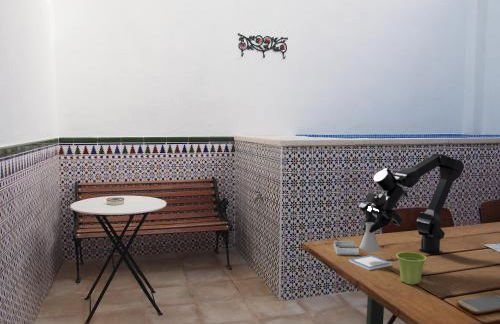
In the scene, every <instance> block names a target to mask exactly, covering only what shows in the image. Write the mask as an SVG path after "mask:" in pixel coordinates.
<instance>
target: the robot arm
mask: <svg viewBox="0 0 500 324" xmlns="http://www.w3.org/2000/svg"><path fill="white" fill-rule="evenodd" d="M436 168H439V170H438V172H439V176H440V177H439V179H438V182H437V185H436V188H435V190H434V192H433V195H432V198H431V200H430V202H429V205H428V207H427V209H426V210H425V211H424V212H423V211H421V212H419V214H418V217H417V219H416V220H415V221H416V224H415V226H416V228H417V232H418V235H419V236H421V240H420V241H421V242H420V244H421V245H420V248H419V249H418V251H420V252H422V253H426V254H429V255H436V254H441V253H443V250H441V249H440V248H441V246H440V245H441V240H442V239H444V238H445V234H446V233H445V232H444V230H443V229H442V228H441V225H442V221H441V220H442V219H441V212H442V210H443V208H444V205H445V203H446V200H447V199H448V195H449V193H450V191H451V188H452V186H453V183H454V182H455V181H457V180H458V179H459V178H460V176H461V175H462V173H463V171H464V170H465V169H464V168H465V165H464V162H463V161H462V159H456V158H452V157H449V156H447V155H445V154H443V153H433V154H431V155H430V156H429V157H427V158H425V159H424V160H422V161H420V162H419V163H417V164H416V165H414V166H412V167H408V168H403V169H401V170H399V171H396V172H395V173H394V174H393V173H392V172H391V169H389V168H388V167H387V168H386V167H384V168H383V169H382V170H379V171H378V172H376V173H375V174H374V175H373V181H374V182H375V183H376V184H377V186H379V188H380V189H381V190H382V191H383V192H385V193H383V194H382V193H379V194H375V193H371V192H368V193H367V195H366V197H365V202H360V204H359V205H358V207H357V208H359V210H361V212H362V213H363V214H364V215H365V216H366V217H365V221H364V225H363V228H362V229H363V231H364V232H365V231H366V224H365V223H367V222H372V223H373V225H372V226H371V228H370V230H369V232H370V233H372V232H374V233H375V232H376V231H378V230H380V229H382V228H384V227H388V226H390V225H391V224H392V223H391V222H392V221H393V224H394V225H396V226H401V225H402V223H403V217H402V216H401V215H400V213H398V212H397V210H394V209H397V208H398V205H397V204H398V202H399V201H400V200H401V198H402V197H403V198H408V197H409V195H408V190H407V189H404V188H410V189H411V188H413V187H415V186H416V184H418V182H419V181H420V179H421V177H424V176H425V175H426V174H428V173H429V172H431V171H433V170H434V169H436ZM403 187H404V188H403ZM367 202H368V203H367Z"/></svg>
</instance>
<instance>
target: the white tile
mask: <svg viewBox="0 0 500 324" xmlns="http://www.w3.org/2000/svg"><path fill="white" fill-rule="evenodd" d="M348 263H352V264H353V265H356V266H358V267H360V268H363V269H365V270H367V271H371V270H377V269H381V268H386V267H391V266H393V262H390V261H388V260H385V259H382V258H381V257H377V256H374V255H372V254H369V255H365V256H364V255H363V256H359V257H355V258H348Z"/></svg>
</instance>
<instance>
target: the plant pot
mask: <svg viewBox="0 0 500 324" xmlns="http://www.w3.org/2000/svg"><path fill="white" fill-rule="evenodd" d="M396 257H397V261H398V267H399V277H400V278H399V279H400V282H403V283H404V284H407V285H418V284H420V283H421V280H422V275H423V268H424V264H425V262H426V261H427V256H426V255H424V254H422V253H419V252H415V251H414V252H413V251H400V252H398V253H396Z"/></svg>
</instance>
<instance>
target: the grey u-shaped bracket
mask: <svg viewBox="0 0 500 324" xmlns="http://www.w3.org/2000/svg"><path fill="white" fill-rule="evenodd" d="M355 242H356V241H355V240H333V249H334V251H335V253H336V255H340V256H359V255H360V251H359V250H360V248H359V247H356V243H355Z"/></svg>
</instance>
